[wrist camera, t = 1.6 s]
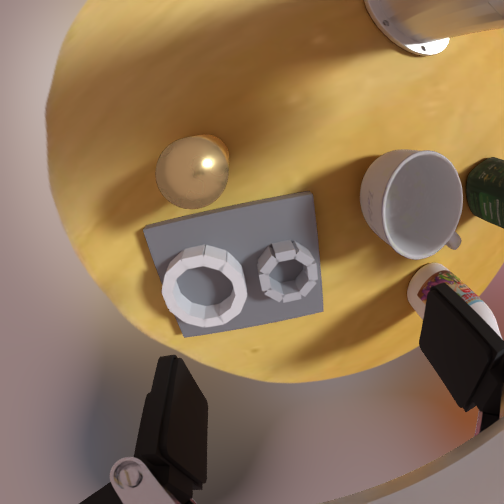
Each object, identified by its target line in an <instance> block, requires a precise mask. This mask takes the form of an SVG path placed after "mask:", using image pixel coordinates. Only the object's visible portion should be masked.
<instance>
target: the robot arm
mask: <svg viewBox="0 0 504 504" xmlns="http://www.w3.org/2000/svg"><path fill="white" fill-rule="evenodd" d="M364 2H365V5H366V8H367V10H368V12H369V14H370V16H371V18H372V19H373V21H374V22H375V24H376V25H377V27H378V28H379V29H380V30H381V31H382V32H383V33H384V34H385V35H386V36H387V37H388V38H389V39H390V40H391V41H392V42H394V43H395V44H396V45H398V46H399V47H401V48H403V49H404V50H406V51H408V52H411V53H413V54H417V55H421V56H430V55H434V54H437V53H440V52H441V51H443V50H444V49H445V47H446V46H447V44H448V41H449V38H451V37H456V36H460V35H465V34H470V33H475V32H481V31H487V30H493V29H501V28H504V0H364ZM419 345H420V348H421V350H422V352H423V353H424V355H425V356H426V357H427V359H428V360H429V362H430V363H431V365H432V366H433V368H434V369H435V371H436V372H437V373H438V375H439V377H440V378H441V380H442V381H443V383H444V384H445V386H446V387H447V389H448V390H449V392H450V393H451V395H452V397H453V398H454V400H455V401H456V403H457V404H458V406H459V407H460V408H463V409H464V410H465V412H467V411H469V410H470V409H472V408H474V407H475V406H477V407H478V409H479V414H478V421H477V426H476V431H475V436H474V437H473V438H471V439H470V440H468V441H467V442H465V443H464V444H462V445H460V446H459V447H457V448H455V449H454V450H452V451H450V452H449V453H447V454H445V455H444V456H441V457H440V458H438V459H436V460H434V461H432V462H430V463H428V464H426V465H424V466H422V467H420V468H418V469H416V470H414V471H412V472H409V473H407V474H405V475H403V476H401V477H398V478H396V479H393V480H391V481H388V482H386V483H384V484H381V485H378V486H376V487H373V488H370V489H367V490H364V491H361V492H358V493H355V494H352V495H349V496H345V497H342V498H338V499H335V500H331V501H327V502H323V503H319V504H504V341H503V340H502V338H501V337H500V336H499V335H498V334H497V333H496V332H495V331H494V330H493V329H492V328H491V327H490V326H489V325H488V324H487V323H486V321H485V320H484V319H483V318H482V317H481V316H480V315H479V314H478V313H477V312H476V311H475V310H474V309H473V308H472V307H471V306H470V305H468V304H467V303H466V302H465V301H464V300H463V299H462V298H461V297H460V296H459V295H458V294H457V293H456V292H455V291H454V290H453V289H452V288H451V287H449V286H448V285H447V284H446V283H444V282H443V283H440V284H437V285H435V286H432V287H431V288H430V291H429V292H428V293H427V299H426V306H425V312H424V318H423V324H422V330H421V335H420V340H419ZM207 425H208V403H207V400H206V398H205V397H204V395H203V393H202V392H201V390H200V389H199V387H198V385H197V384H196V382H195V380H194V379H193V377H192V375H191V374H190V372H189V370H188V368H187V367H186V365H185V363H184V361H183V360H182V359H181V358H177V356H176V355H170V356H163V357H160V358H159V360H158V363H157V368H156V372H155V376H154V380H153V385H152V389H151V392H150V393H148V394H147V397H146V400H145V405H144V408H143V413H142V418H141V423H140V428H139V433H138V438H137V443H136V448H135V454H134V457H126V458H122V459H120V460H118V461H117V462H116V463H115V464H114V465H113V467H112V469H111V472H110V481H111V482H110V483H108V484H107V485H105V486H104V487H103V488H101V489H100V490H98V491H97V492H95V493H94V494H92V495H91V496H89V497H88V498H87V499H85V500H84V501H82V502H81V503H80V504H197V503H196V502H195V501H194V500H193V499H192V495H193V491H192V490H202V483H206V479H207V428H208V427H207Z"/></svg>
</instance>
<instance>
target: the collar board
mask: <svg viewBox="0 0 504 504" xmlns="http://www.w3.org/2000/svg"><path fill="white" fill-rule="evenodd" d="M143 232H144V235H145V238H146V241H147V244H148V247H149V250H150V253H151V255H152V258H153V261H154V264H155V267H156V269H157V272H158V275H159V277H160V280H161V283H162V285H163V286H162V295H163V297H164V300H165V302H166V305H167V307H168V309H169V311H171V312H172V313H173V314H174V315H175V317H176V320H177V322H178V325H179V327H180V329H181V332H182V334H183V336H184V338H185V337H192V336H199V335H206V334H212V333H218V332H224V331H230V330H236V329H242V328H247V327H252V326H258V325H263V324H268V323H273V322H278V321H283V320H287V319H292V318H297V317H301V316H306V315H310V314H315V313H319V312H323V295H322V280H321V268H320V256H319V245H318V235H317V225H316V216H315V208H314V200H313V194H312V193H311V192H310V191H305V192H299V193H294V194H288V195H283V196H277V197H272V198H267V199H262V200H257V201H252V202H247V203H242V204H237V205H232V206H227V207H223V208H218V209H213V210H209V211H204V212H200V213H195V214H191V215H187V216H182V217H178V218H174V219H170V220H165V221H161V222H157V223H153V224H149V225H146V226H145V228H144V229H143Z"/></svg>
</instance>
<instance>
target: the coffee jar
mask: <svg viewBox="0 0 504 504" xmlns="http://www.w3.org/2000/svg"><path fill="white" fill-rule="evenodd" d="M466 193H467V200H468V204H469V207H470V210H471V212H472V213H473V214H474V215H475V216H477V217H479V218H481V219H483V220H485V221H487V222H490V223H492V224H495V225H497V226H499V227H501V228H503V229H504V160H501V159H498V158H495V157H491V158H488V159H486V160H484V161H483V162H481V163H480V164H478V165H477V166H476V167H475V168H474V169H473V170H472V171H471V172H470V173H469V175H468V179H467V185H466Z"/></svg>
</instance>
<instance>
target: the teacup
mask: <svg viewBox="0 0 504 504" xmlns="http://www.w3.org/2000/svg"><path fill="white" fill-rule="evenodd" d="M360 204H361V210H362V213H363V216H364V218H365V220H366V222H367V224H368V225H369V227H370V228H371V229H372V230H373V231H374V233H376V234H377V235H378V236H379V237H380V238H381V239H382V240H383V241H385V242H386V243H387V244H389V245H390V246H391V247H392V248H393V249H394V250H395V251H396V252H397V253H399V254H400V255H402V256H404V257H406V258H410V259H416V260H417V259H423V258H427V257H430V256H431V255H433V254H435V253H436V252H438V251H439V250H440V249H441V248H442V247H443V246H444V245H447V246H448V247H449V248H451V249H453V250H456V249H457V248H458V247H459V245H460V244H461V238H460V236H459V235H458V234H457V233H456V232H455V230H456V227H457V225H458V222H459V219H460V216H461V212H462V206H463V193H462V186H461V181H460V178H459V176H458V173H457V171H456V169H455V167H454V166H453V164H452V163H451V162H450V161H449V160H448V159H447V158H446V157H444V156H443V155H441V154H440V153H437V152H434V151H417V150H394V151H390V152H387V153H385V154H383V155H381V156H380V157H378V158H377V159H376V160H375V161H374V162H373V163H372V164H371V165H370V167H369V168H368V170H367V171H366V173H365V175H364V178H363V180H362V184H361V190H360Z"/></svg>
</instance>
